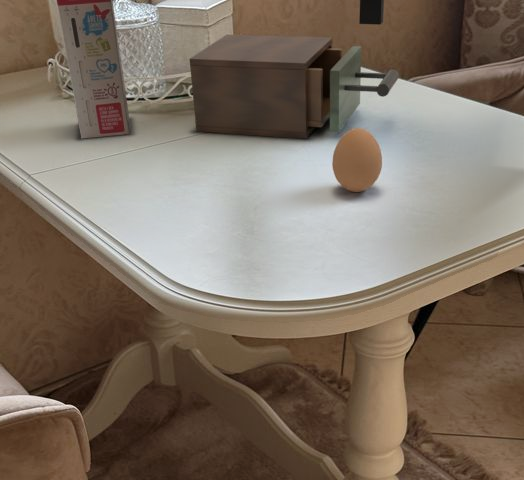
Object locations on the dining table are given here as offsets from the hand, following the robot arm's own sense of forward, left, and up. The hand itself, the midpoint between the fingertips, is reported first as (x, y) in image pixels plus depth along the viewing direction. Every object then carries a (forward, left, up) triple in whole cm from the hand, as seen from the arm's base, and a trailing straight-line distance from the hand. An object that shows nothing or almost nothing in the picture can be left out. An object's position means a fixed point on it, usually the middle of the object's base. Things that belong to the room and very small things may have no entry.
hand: (371, 22), depth 99 cm
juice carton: (+36, +8, -13) cm, 39 cm away
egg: (-3, +22, -13) cm, 26 cm away
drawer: (+7, 0, -12) cm, 14 cm away
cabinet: (+15, 0, -13) cm, 19 cm away
